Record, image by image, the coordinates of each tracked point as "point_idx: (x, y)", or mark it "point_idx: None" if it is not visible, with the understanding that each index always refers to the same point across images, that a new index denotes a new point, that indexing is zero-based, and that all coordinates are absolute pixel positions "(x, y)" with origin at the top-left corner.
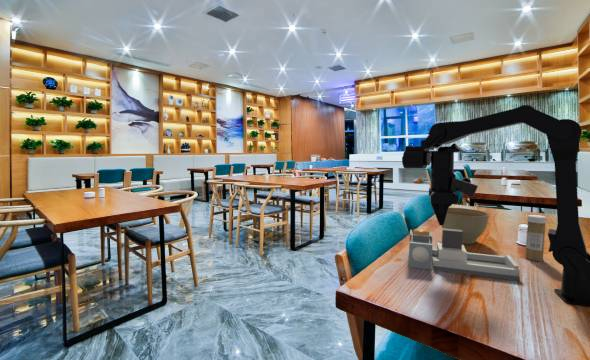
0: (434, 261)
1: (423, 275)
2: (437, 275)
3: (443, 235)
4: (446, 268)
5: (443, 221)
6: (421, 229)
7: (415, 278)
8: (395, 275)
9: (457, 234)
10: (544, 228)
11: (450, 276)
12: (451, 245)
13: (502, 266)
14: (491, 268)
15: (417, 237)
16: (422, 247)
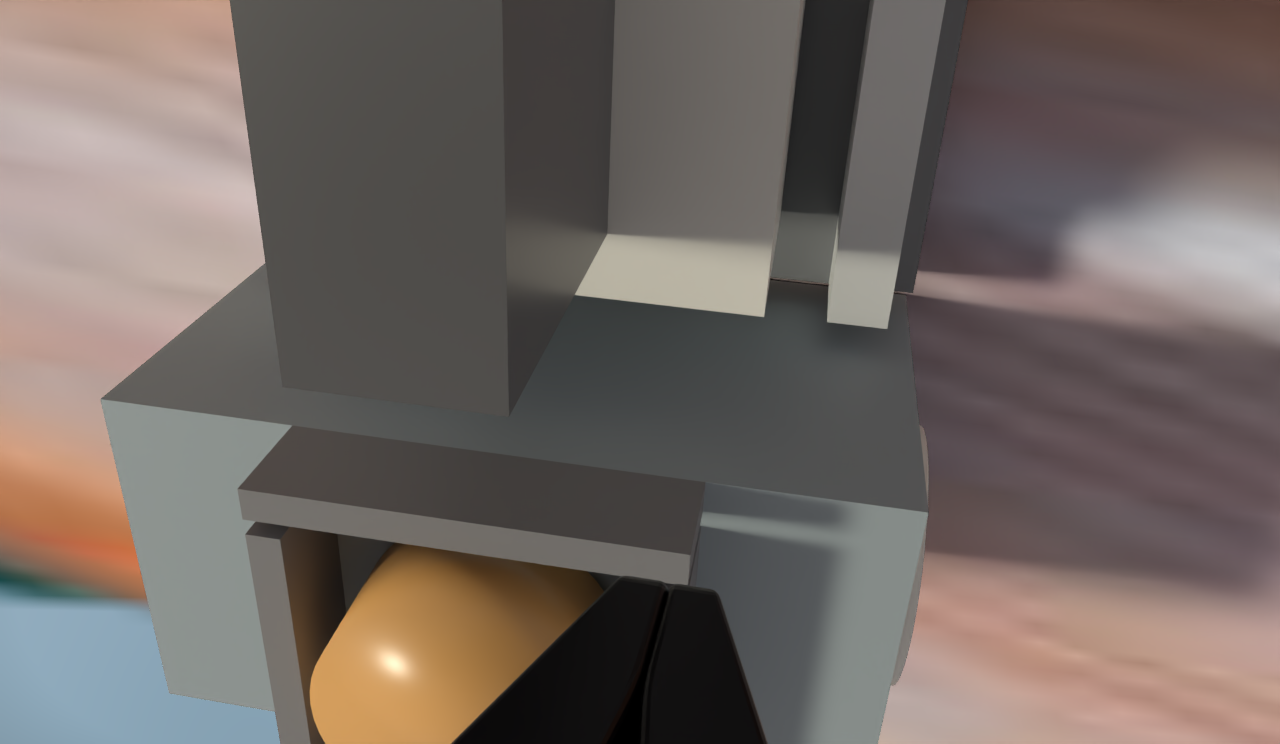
0: (888, 310)
1: (1152, 423)
2: (1126, 250)
3: (542, 328)
4: (943, 113)
5: (745, 699)
6: (337, 700)
7: (1275, 525)
8: (1194, 702)
9: (530, 11)
10: None
11: (1143, 72)
12: (601, 76)
13: None
14: None
15: None
16: (913, 615)
